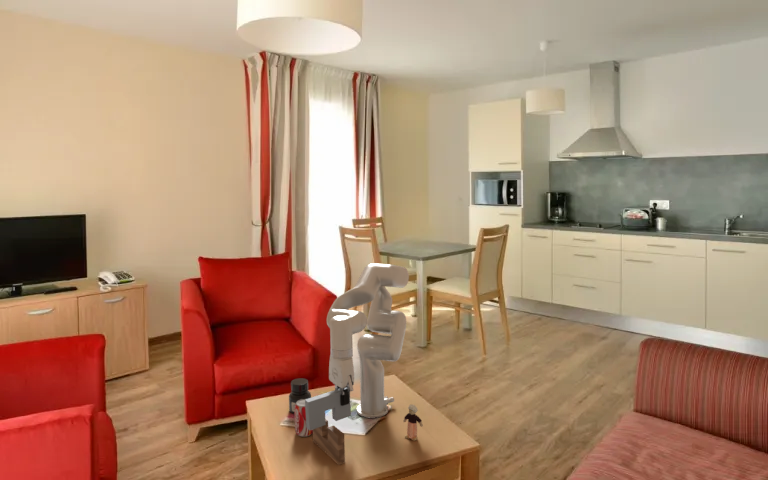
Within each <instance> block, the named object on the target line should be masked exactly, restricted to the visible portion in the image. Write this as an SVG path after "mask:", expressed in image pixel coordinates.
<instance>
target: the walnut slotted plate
mask: <svg viewBox="0 0 768 480" xmlns="http://www.w3.org/2000/svg"><path fill="white" fill-rule="evenodd" d="M325 421H326V425H324V426H321V427H318V428H316V429H313V433H312V441H313V443H314V444H315V445H316V446H317V447H318V448H320V449H321V450H322V451H323V452H324V453H325V454H327V456H328V457H330V458H331V459H332V460H333V462H335V463H336V464H337V465H342V464H345V463H346V458H345V457H346V451H345V447H346V446H345V433H344V432H343V431H341V430H340V429H339V428H337V427H336V426H335V425H331V426H329V421H328V419H326V418H325Z"/></svg>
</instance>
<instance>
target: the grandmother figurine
mask: <svg viewBox="0 0 768 480" xmlns="http://www.w3.org/2000/svg"><path fill="white" fill-rule="evenodd" d="M417 412H418V407H417V406H416V405H415V404H409V405H408V413H407V414H406V415H405V416H404V418H403V423H407V429H406V431H407V432H406V434H405V436H404V438H405V439H409V440H410V439H411V441H415V442H416V441H417V439H418V424H419V427H423V422H422V419H421V418H420V417H419V415H417V414H416V413H417ZM407 420H408V421H407ZM417 423H418V424H417Z"/></svg>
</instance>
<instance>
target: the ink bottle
mask: <svg viewBox="0 0 768 480" xmlns="http://www.w3.org/2000/svg"><path fill="white" fill-rule="evenodd" d="M290 389H291V390H290V393H289V395H288V407H289V408H288V409H289V410H288V411H289V412H290V413H291V414H294V415H295V413H294V410H295V405H296V402H297V401H298V400H301V399H308V398H312V394H311V392H310V391H309V380H308V379H307V378H304V377H303V378H302V377H301V378H294V379H292V380H291V381H290Z"/></svg>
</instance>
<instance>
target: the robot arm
mask: <svg viewBox="0 0 768 480" xmlns="http://www.w3.org/2000/svg"><path fill="white" fill-rule="evenodd" d="M409 280H410V274H409V271H408V269H407V268H406V267H404V266H401V265H397V264H396V265H395V264H390V263H375V262H374V263H368V264H367V265H366V266H364V268H363V270H362V272H361V274H360V276H359V278H358V279H357V281H356V283H355V286H354V287H353V288H351V289H349V290H347V291H345V292H344V293H342V294H341V295H339V296H338V297H337V298H335V299H334V300H333V303H332V304H331V306H330V308H329V310H328V312H327V315H326V325H327V327H328V328H329V335H330V336H329V337H330V341H329V343H330V355H329V362H328V363H329V364H328V365H329V366H328V380H329V381H330V382H331V383H332V384H333V385H334V390H336V389H340V388H341V393H342V394H341V395H340V397H341V406H344V405H347V404H349V393H350V394H351V392H353V391H354V385H355V368H354V360H353V356H354V354H353V350H354V348H353V345H354V343H353V335H355V334H359V333H361V332H363V331H364V330H365V328H366V327H367V330H368V331H370V332H373V333H366V334H362V335H360V337H358V339H357V344H356V346H357V347H356V348H357V354H358V358H359V359H358V360H359V377H360V378H359V380H360V381H359V383H360V385H359V387H360V404H359V405H357V407H356V413H357V414H358V415H359V416H361V417H363V416H364V418H367V417H370V418H369V419H375V417H377V418H381V417H383V416H385V415H387V414H388V412H389V406H388V405H389V404H390V403H394V402H395V398H394V397H393V396H391V397H388V396H387V395H386V396H385V367H384V364H383V363H382V361H385V362H397V361H398V360H399V359H400V357H401V353H402V350H403V345H404V340H405V335H406V328H407V317H406V315H405V313H404V312H403V311H400V310H395V309H394V310H393V309H392V306H393V297H392V295H391V293H390V292H389V290H388V289H387V288H398V289H399V288H400V289H401V288H405V287H406V286H407V284H408V283H409ZM369 303H370V307H369V311H368V315H366V313H364V312H363V311H361V310H360V311H359V310H352V309H351V308H356V307H358V306H363V305H366V304H369ZM374 333H375V334H374ZM383 334H385V335H383ZM386 334H387V335H386ZM346 387H347V389H345V390H344V388H346Z"/></svg>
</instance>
